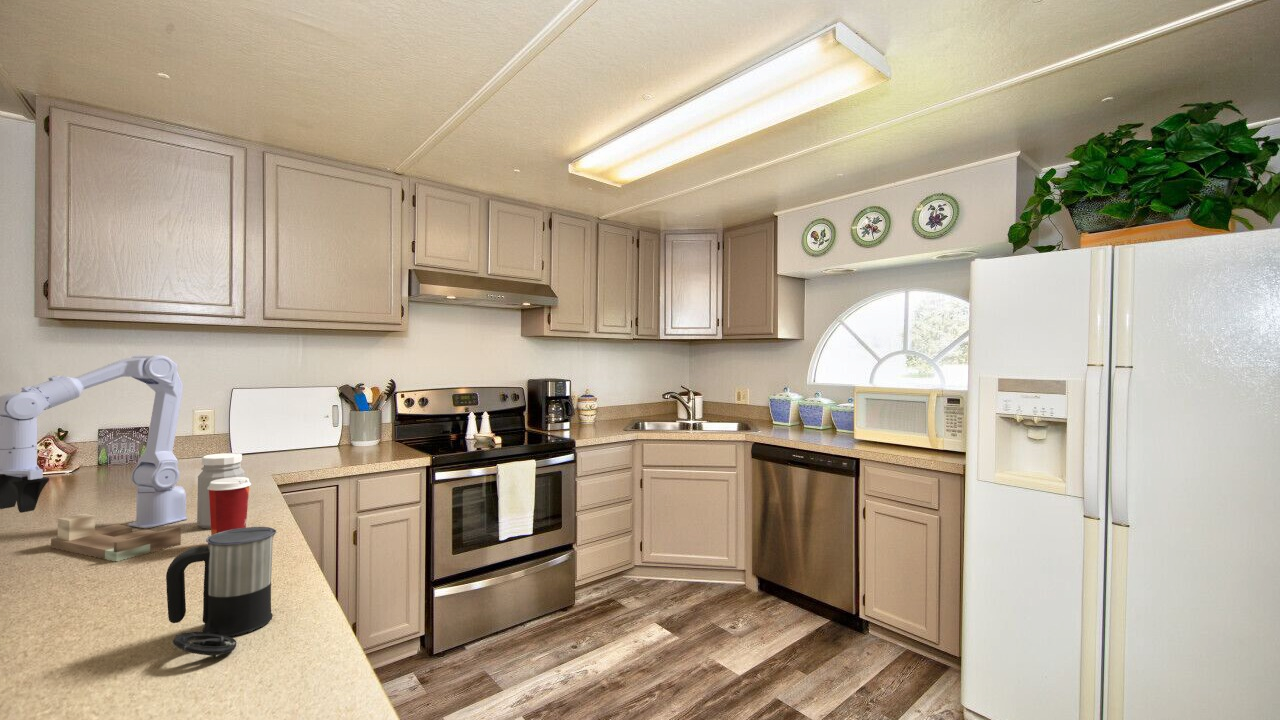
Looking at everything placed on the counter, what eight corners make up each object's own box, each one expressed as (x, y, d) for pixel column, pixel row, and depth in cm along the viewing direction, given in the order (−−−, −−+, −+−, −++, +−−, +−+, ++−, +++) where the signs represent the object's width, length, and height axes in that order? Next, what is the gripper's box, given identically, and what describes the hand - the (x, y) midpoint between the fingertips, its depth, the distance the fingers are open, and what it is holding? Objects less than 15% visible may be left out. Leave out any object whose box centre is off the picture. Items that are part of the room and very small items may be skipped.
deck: (116, 532, 134) (117, 516, 134) (180, 544, 126) (180, 527, 126) (50, 547, 123) (51, 530, 123) (116, 561, 115) (116, 543, 115)
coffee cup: (258, 539, 130) (259, 477, 130) (229, 551, 122) (230, 484, 122) (226, 537, 131) (227, 475, 131) (195, 549, 123) (196, 483, 123)
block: (83, 532, 127) (83, 513, 127) (94, 534, 126) (95, 515, 126) (57, 538, 123) (57, 518, 123) (69, 540, 122) (69, 520, 122)
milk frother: (263, 606, 95) (265, 522, 95) (297, 636, 85) (298, 541, 85) (156, 637, 84) (158, 542, 84) (179, 676, 74) (182, 567, 74)
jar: (187, 527, 139) (188, 457, 139) (226, 517, 148) (227, 451, 148) (215, 531, 136) (216, 459, 136) (253, 520, 145) (254, 453, 145)
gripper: (-28, 448, 117) (-29, 510, 117) (10, 452, 112) (9, 518, 112) (18, 443, 123) (18, 502, 123) (56, 447, 119) (55, 509, 119)
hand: (17, 509), depth 118 cm, fingers open, 7 cm apart
